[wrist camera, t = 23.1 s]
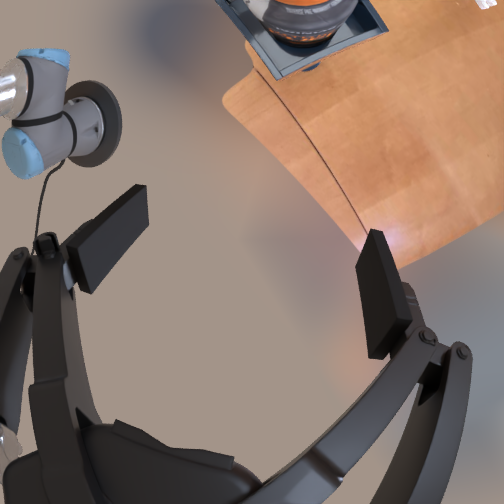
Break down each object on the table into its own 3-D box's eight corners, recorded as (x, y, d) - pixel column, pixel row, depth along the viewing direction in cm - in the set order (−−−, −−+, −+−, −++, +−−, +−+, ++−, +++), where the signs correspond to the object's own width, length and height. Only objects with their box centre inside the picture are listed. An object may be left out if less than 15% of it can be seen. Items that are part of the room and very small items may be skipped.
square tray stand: (294, 81, 44) (276, 81, 15) (269, 45, 40) (205, -10, 12) (333, 62, 40) (389, 31, 12) (308, 25, 37) (314, -62, 8)
